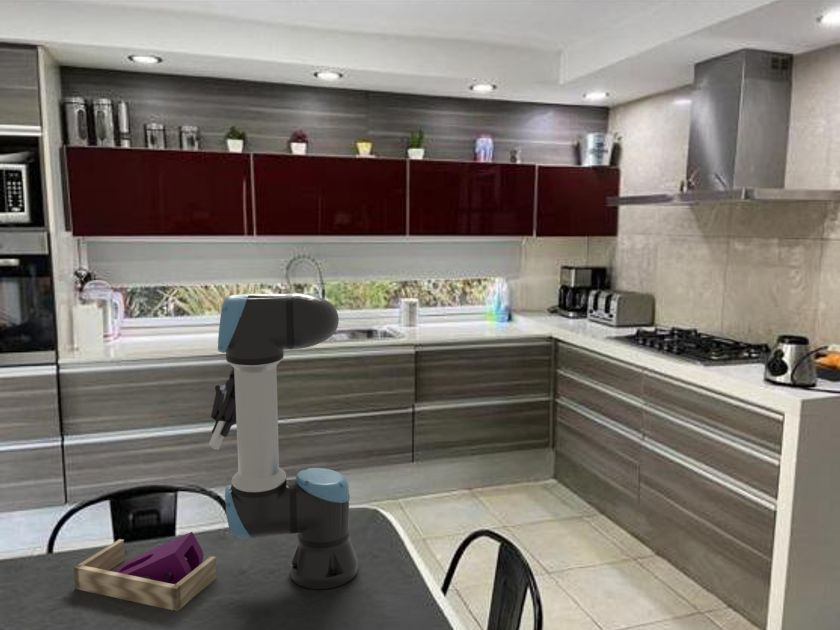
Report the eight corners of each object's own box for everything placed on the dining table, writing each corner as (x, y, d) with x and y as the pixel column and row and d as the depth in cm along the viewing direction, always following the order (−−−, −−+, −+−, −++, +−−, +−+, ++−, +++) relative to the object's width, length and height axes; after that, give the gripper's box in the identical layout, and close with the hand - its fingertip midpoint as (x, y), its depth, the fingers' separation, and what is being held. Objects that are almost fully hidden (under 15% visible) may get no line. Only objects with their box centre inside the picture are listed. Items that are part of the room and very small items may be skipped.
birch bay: (216, 577, 143) (215, 557, 142) (177, 611, 130) (176, 588, 129) (120, 558, 150) (119, 539, 150) (75, 588, 138) (73, 567, 137)
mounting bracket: (121, 618, 138) (193, 586, 136) (102, 585, 137) (174, 552, 135) (141, 593, 147) (209, 563, 145) (124, 562, 146) (192, 531, 144)
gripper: (275, 376, 172) (242, 456, 159) (233, 373, 176) (198, 450, 163) (264, 361, 166) (229, 442, 153) (221, 358, 170) (184, 437, 157)
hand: (213, 446), depth 158 cm, fingers closed
